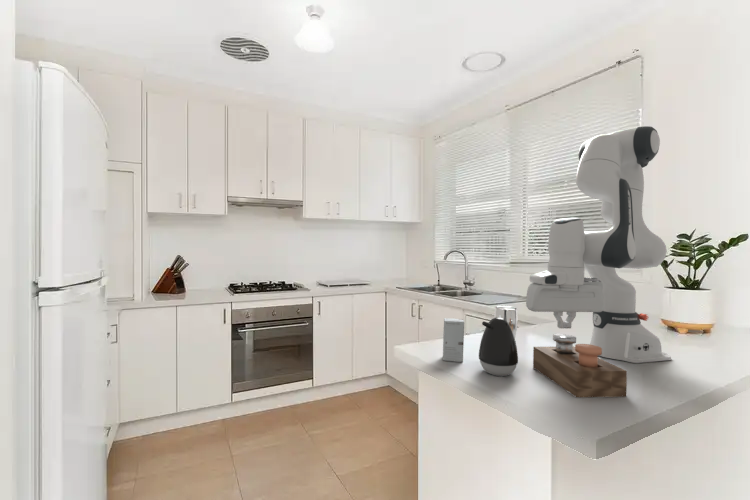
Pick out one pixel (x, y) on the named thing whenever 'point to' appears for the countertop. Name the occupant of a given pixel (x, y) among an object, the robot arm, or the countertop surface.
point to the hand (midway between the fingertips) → (564, 328)
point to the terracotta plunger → (588, 354)
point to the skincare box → (453, 339)
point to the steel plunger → (564, 343)
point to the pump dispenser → (498, 348)
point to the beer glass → (508, 316)
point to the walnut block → (580, 374)
